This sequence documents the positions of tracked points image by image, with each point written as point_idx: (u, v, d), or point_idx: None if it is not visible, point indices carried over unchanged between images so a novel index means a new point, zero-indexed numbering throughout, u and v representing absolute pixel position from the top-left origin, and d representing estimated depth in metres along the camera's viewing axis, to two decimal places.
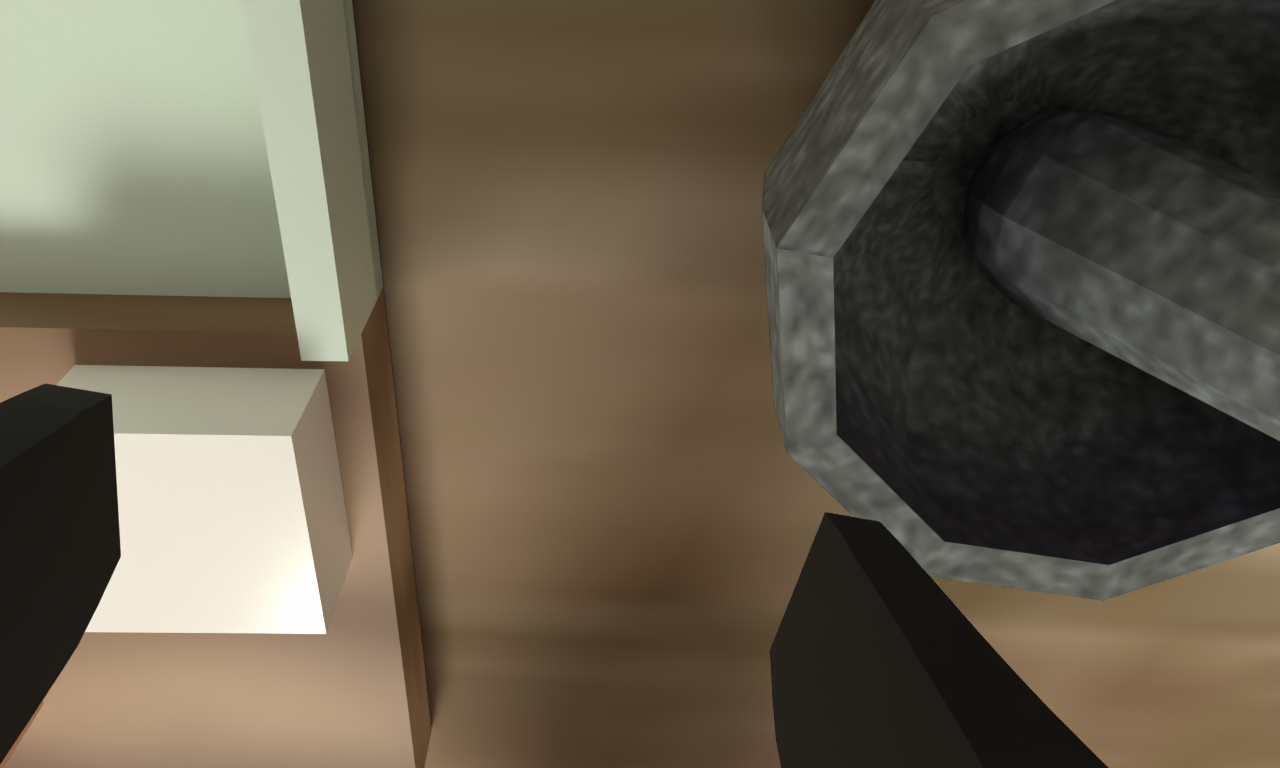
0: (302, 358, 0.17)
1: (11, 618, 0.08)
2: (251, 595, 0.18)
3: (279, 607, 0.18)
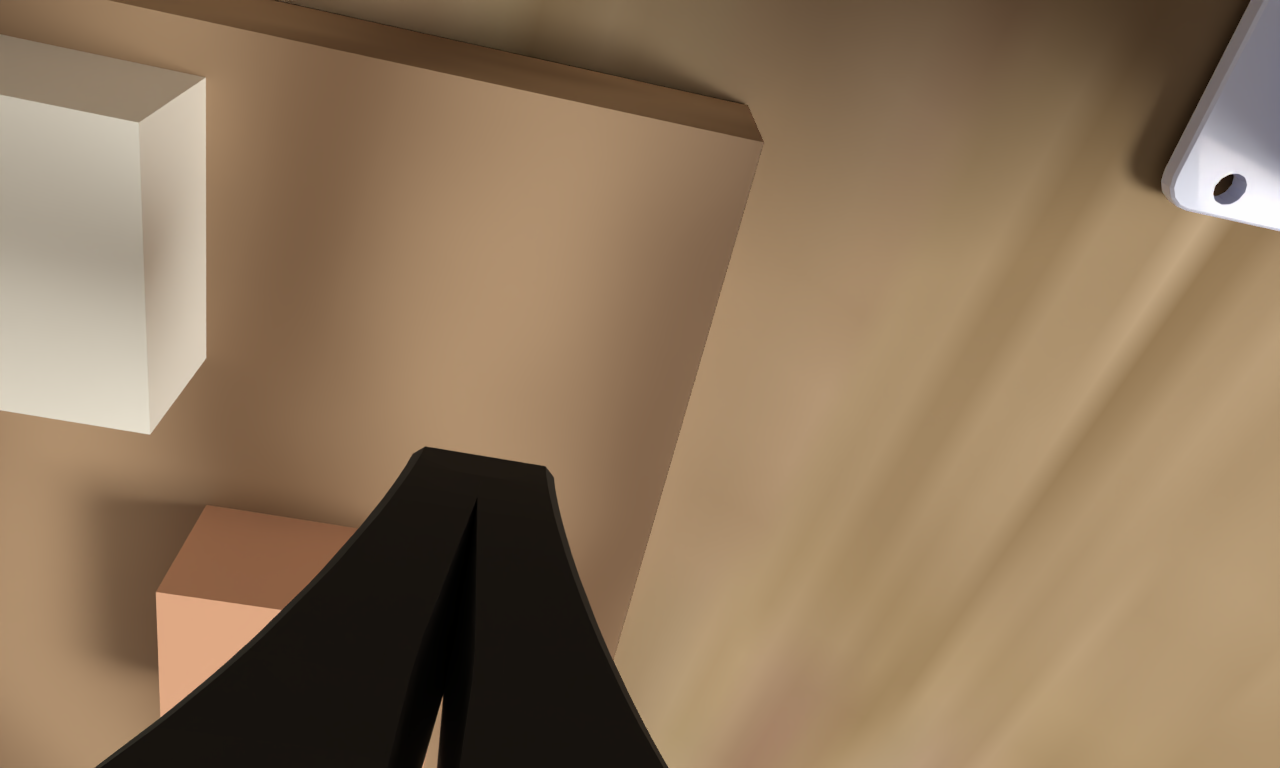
0: None
1: (436, 676, 0.09)
2: (60, 203, 0.12)
3: (83, 173, 0.12)
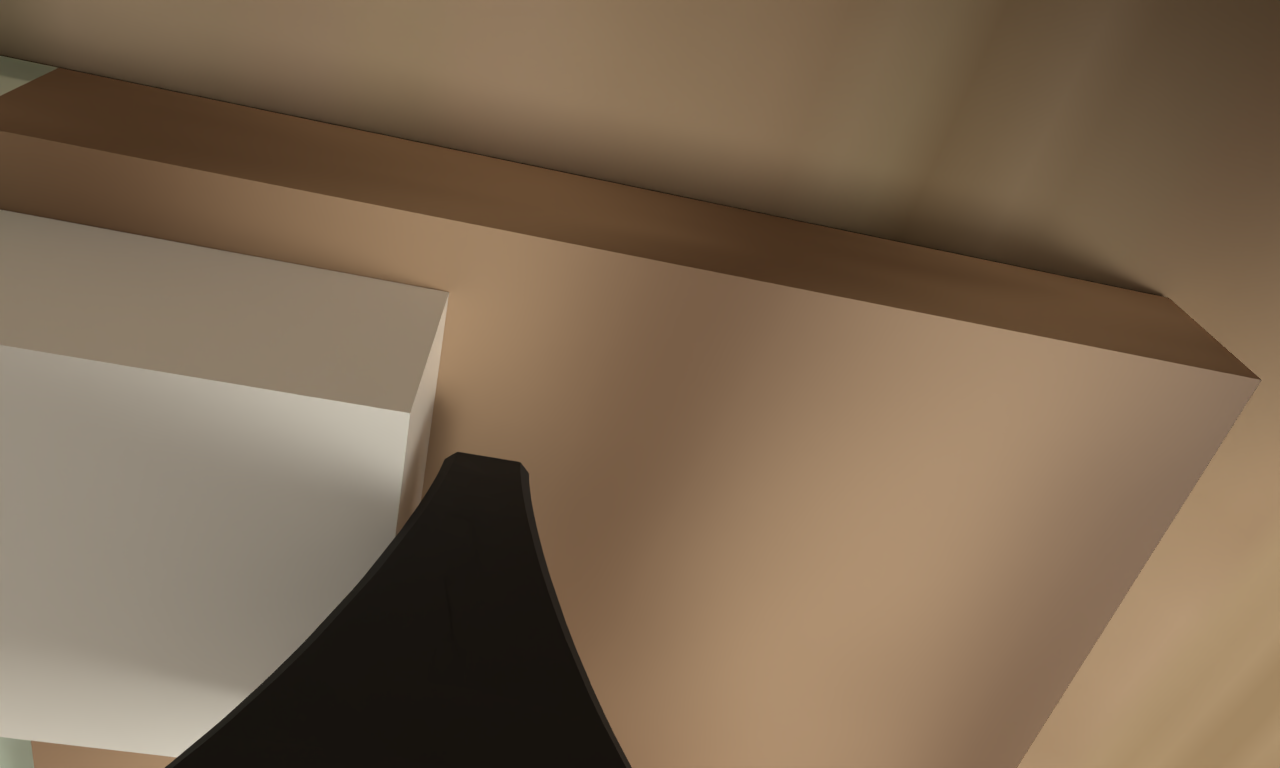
0: None
1: None
2: (280, 515, 0.08)
3: (318, 476, 0.08)
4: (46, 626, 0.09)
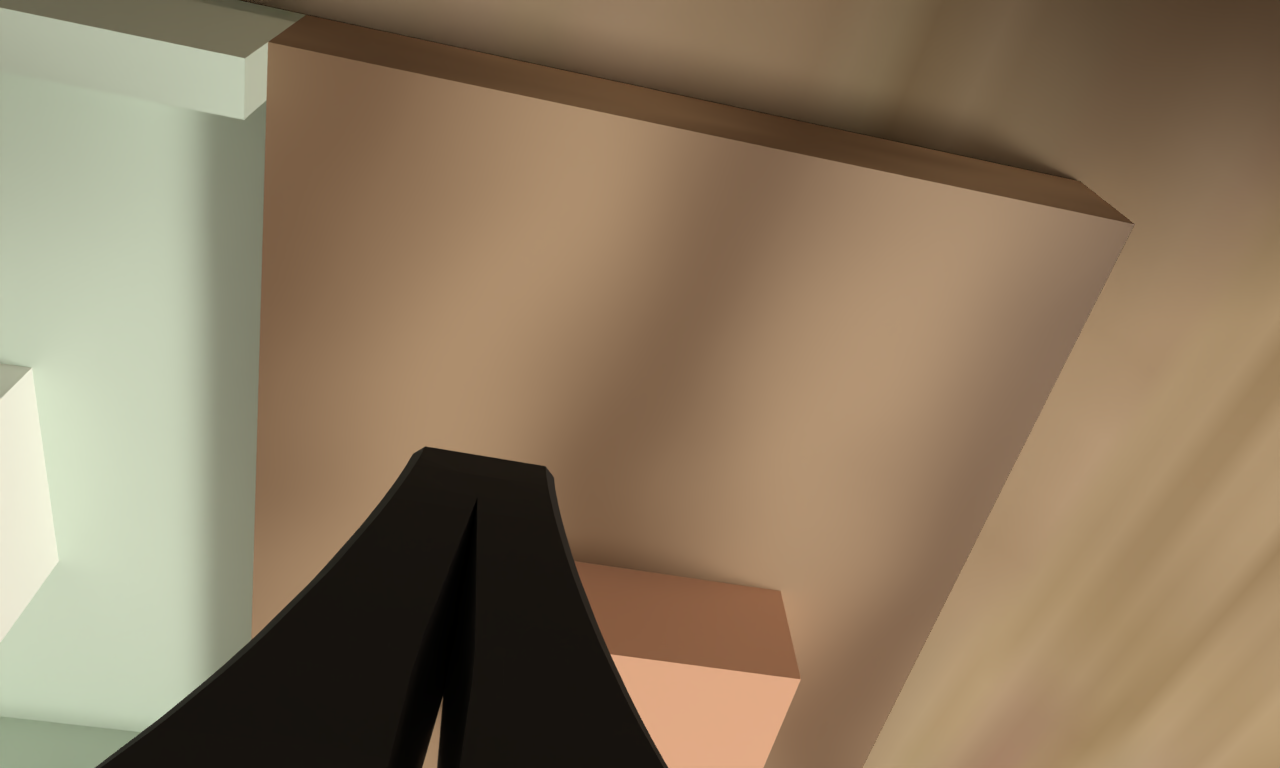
0: (240, 117, 0.13)
1: (436, 676, 0.09)
2: None
3: None
4: None
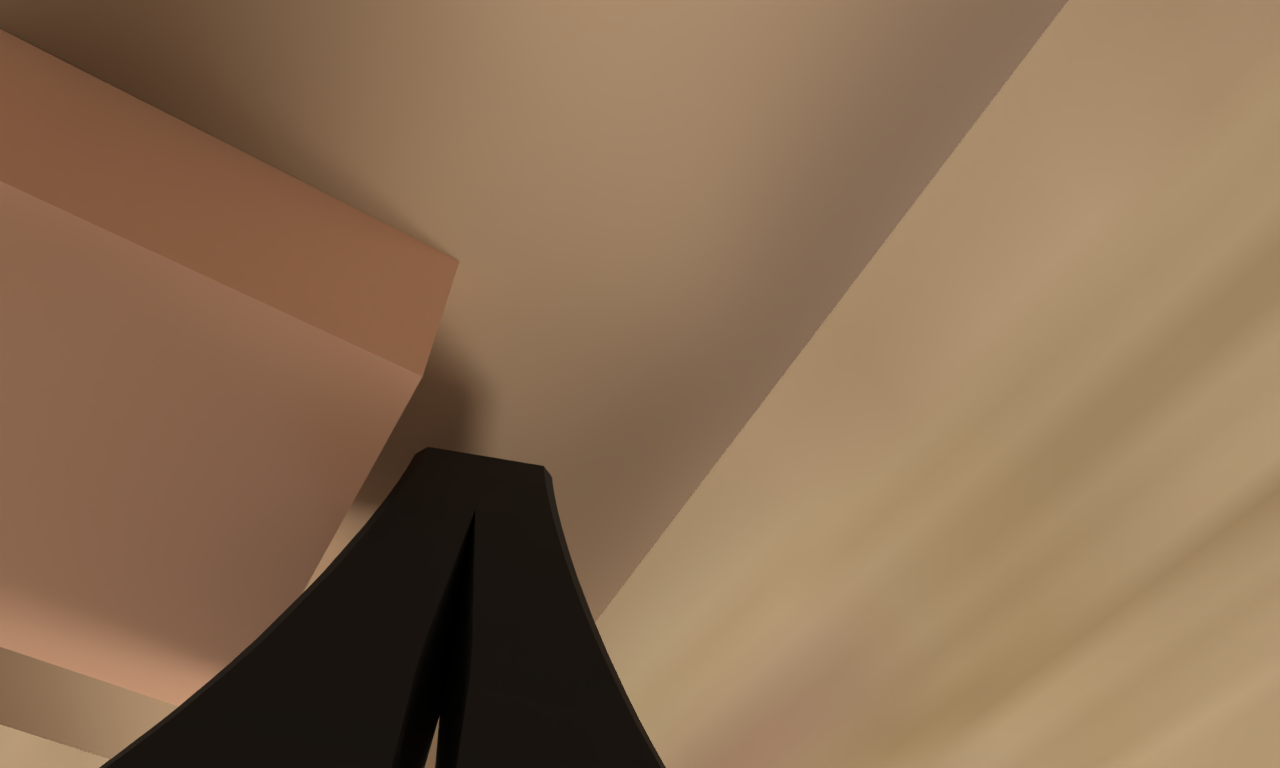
0: None
1: (439, 676, 0.09)
2: None
3: None
4: None
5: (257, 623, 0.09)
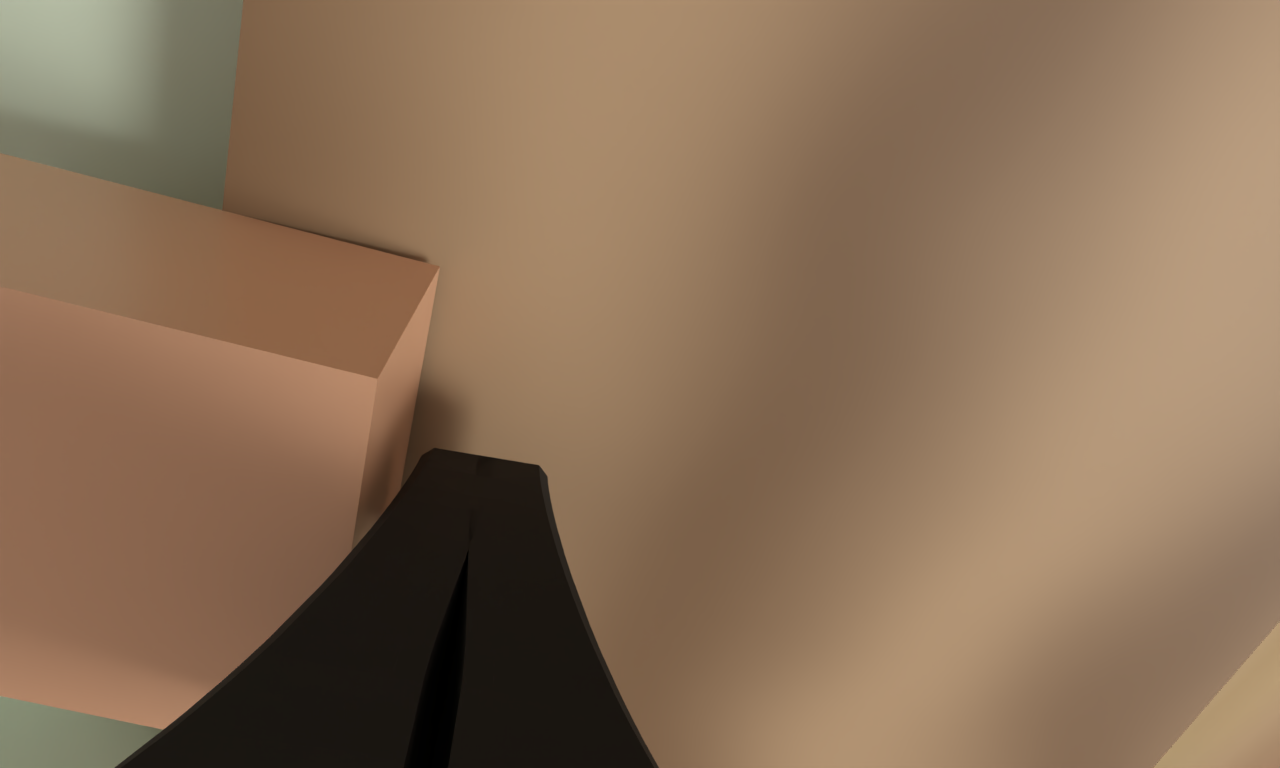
0: None
1: (447, 677, 0.09)
2: None
3: None
4: None
5: None
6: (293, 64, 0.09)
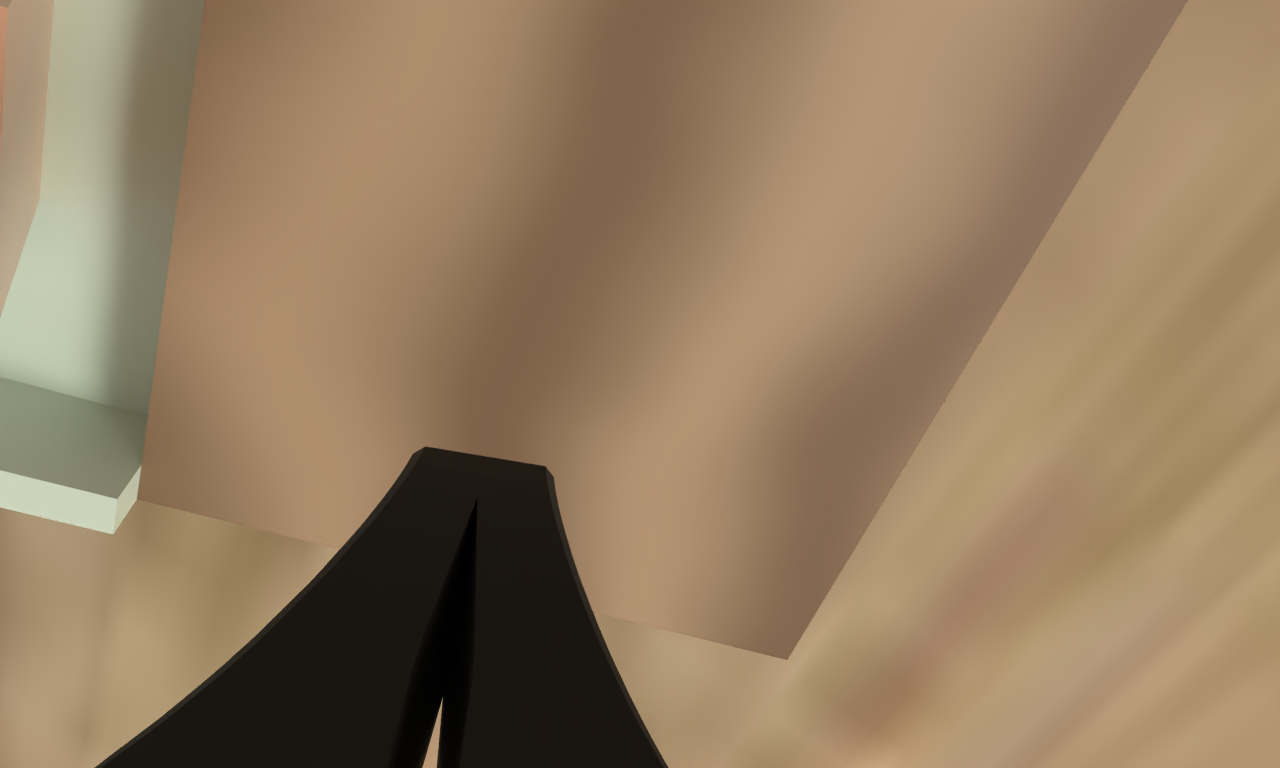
0: None
1: (437, 676, 0.09)
2: None
3: None
4: None
5: None
6: None
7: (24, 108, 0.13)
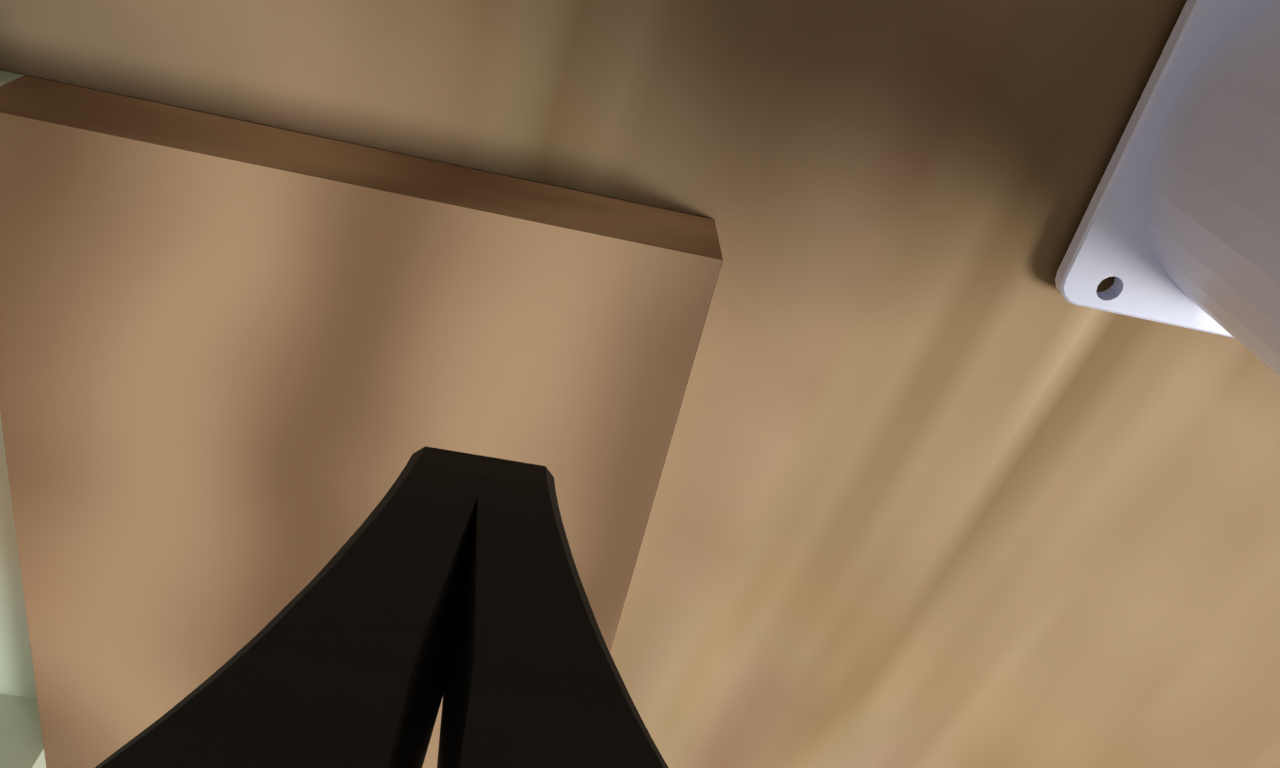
0: None
1: (436, 675, 0.09)
2: None
3: None
4: None
5: None
6: (27, 435, 0.19)
7: None
